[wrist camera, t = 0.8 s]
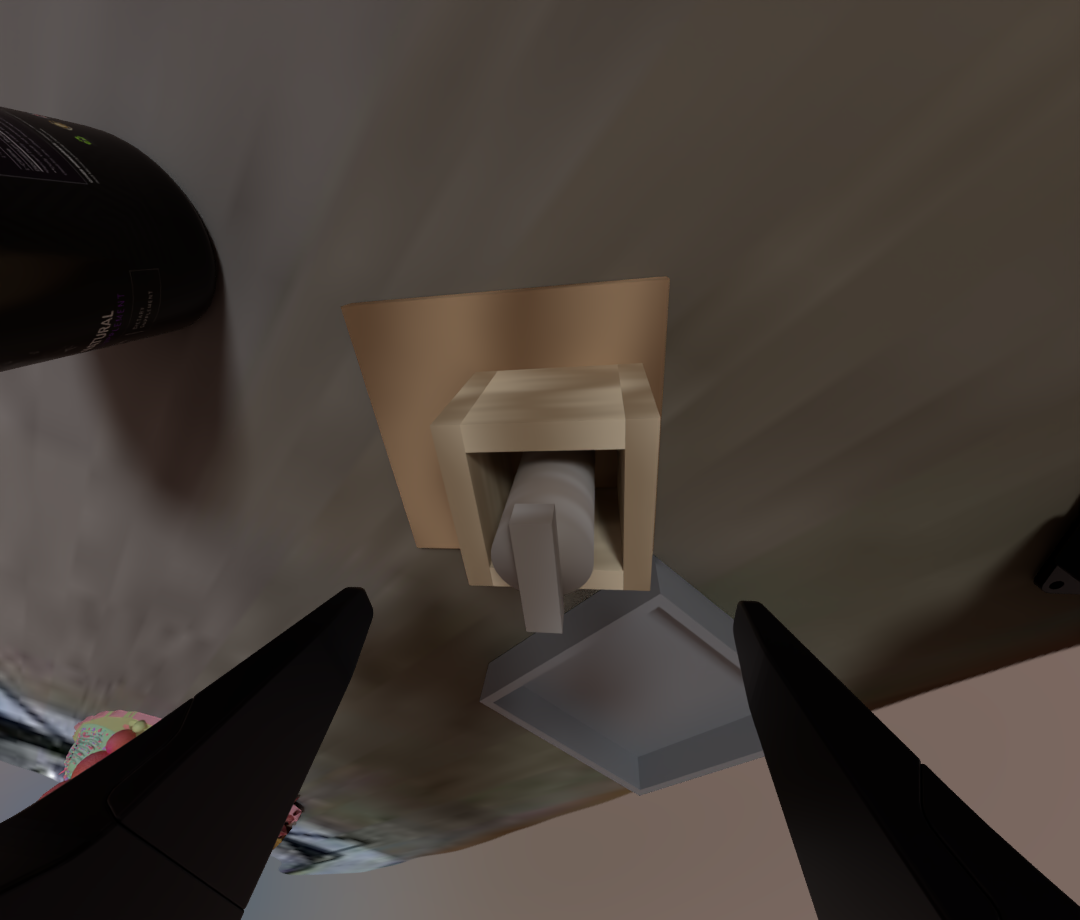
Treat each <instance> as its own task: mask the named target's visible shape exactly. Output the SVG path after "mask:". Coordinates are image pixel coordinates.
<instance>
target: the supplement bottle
mask: <svg viewBox="0 0 1080 920" xmlns="http://www.w3.org/2000/svg"><path fill="white" fill-rule="evenodd" d="M215 286H216V264H215V258H214V253H213V249H212V246H211V242H210V239H209V237H208V234H207V232H206V229H205V227H204V225H203V223H202V221H201V219H200V217H199V215H198V213H197V212H196V210H195V208H194V207H193V205H192V204H191V202H190V201H189V199H188V198H187V197H186V195H185V194H184V192H183V191H182V190H181V189H180V187H179V186H178V185H177V184H176V183H175V182H174V181H173V179H172V178H171V177H170V176H169V175H168V174H167V173H166V172H165V171H164V170H163V169H162V168H161V167H160V166H159V165H158V164H156V163H155V162H154V161H153V160H152V159H150V158H149V157H148V156H147V155H145V154H144V153H143V152H141V151H140V150H139V149H137V148H135V147H134V146H132V145H131V144H129V143H127V142H126V141H124V140H122V139H120V138H118V137H116V136H114V135H112V134H109V133H107V132H105V131H102V130H98V129H95V128H92V127H89V126H85V125H81V124H76V123H72V122H68V121H63V120H59V119H55V118H51V117H46V116H41V115H37V114H32V113H28V112H23V111H18V110H14V109H9V108H4V107H0V372H2V371H6V370H11V369H15V368H19V367H24V366H28V365H32V364H36V363H41V362H45V361H49V360H53V359H58V358H62V357H66V356H71V355H75V354H79V353H83V352H88V351H92V350H96V349H101V348H105V347H109V346H113V345H118V344H122V343H126V342H130V341H135V340H139V339H143V338H148V337H152V336H156V335H160V334H163V333H167V332H171V331H175V330H179V329H182V328H185V327H187V326H189V325H191V324H193V323H194V322H196V321H197V320H198V319H199V318H201V317H202V316H203V314H204V313H205V312H206V311H207V309H208V307H209V306H210V304H211V301H212V299H213V296H214V292H215Z"/></svg>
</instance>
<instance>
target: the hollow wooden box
mask: <svg viewBox="0 0 1080 920" xmlns="http://www.w3.org/2000/svg"><path fill="white" fill-rule="evenodd" d="M430 429H431V433H432V437H433V441H434V445H435V449H436V453H437V457H438V461H439V465H440V469H441V473H442V477H443V481H444V485H445V489H446V493H447V497H448V501H449V505H450V509H451V513H452V517H453V521H454V525H455V529H456V533H457V537H458V541H459V545H460V550H461V554H462V558H463V562H464V566H465V570H466V574H467V578H468V582H469V585H475V586H507V587H511V586H510V585H509V584H507V583H506V582H505V581H504V580H503V579H502V578H501V577H500V576H499V575H498V573H497V572H496V570H495V568H494V566H493V563H492V560H491V548H492V544H493V541H494V538H495V535H496V532H497V529H498V526H499V523H500V520H501V517H502V514H503V512H504V509H505V506H506V503H507V500H508V497H509V494H510V491H511V488H512V485H513V482H514V478H513V472H512V465H511V458H510V452H517V451H562V450H608V449H617V487H610V488H595V505H594V567H593V571H592V574H591V576H590V578H589V579H588V581H587V582H586V583H585V584H584V585H583V586H582V587H581V588H579V589H604V590H637V591H650V585H651V568H652V552H653V535H654V518H655V502H656V485H657V468H658V452H659V435H660V415H659V412H658V409H657V406H656V403H655V400H654V397H653V394H652V391H651V388H650V385H649V382H648V379H647V376H646V373H645V370H644V367H643V364H642V363H635V364H616V365H598V366H579V367H561V368H542V369H524V370H505V371H487V372H475V373H474V374H473V376H472V377H471V378H470V379H469V380H468V381H467V383H466V384H465V385H464V386H463V387H462V388H461V390H460V391H459V392H458V393H457V394H456V396H455V397H454V398H453V399H452V400H451V401H450V403H449V404H448V405H447V406H446V407H445V408H444V410H443V411H442V412H441V413H440V414H439V415H438V417H437V418H436V419H435V420H434V421H433V422H432V424H431V425H430Z"/></svg>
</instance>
